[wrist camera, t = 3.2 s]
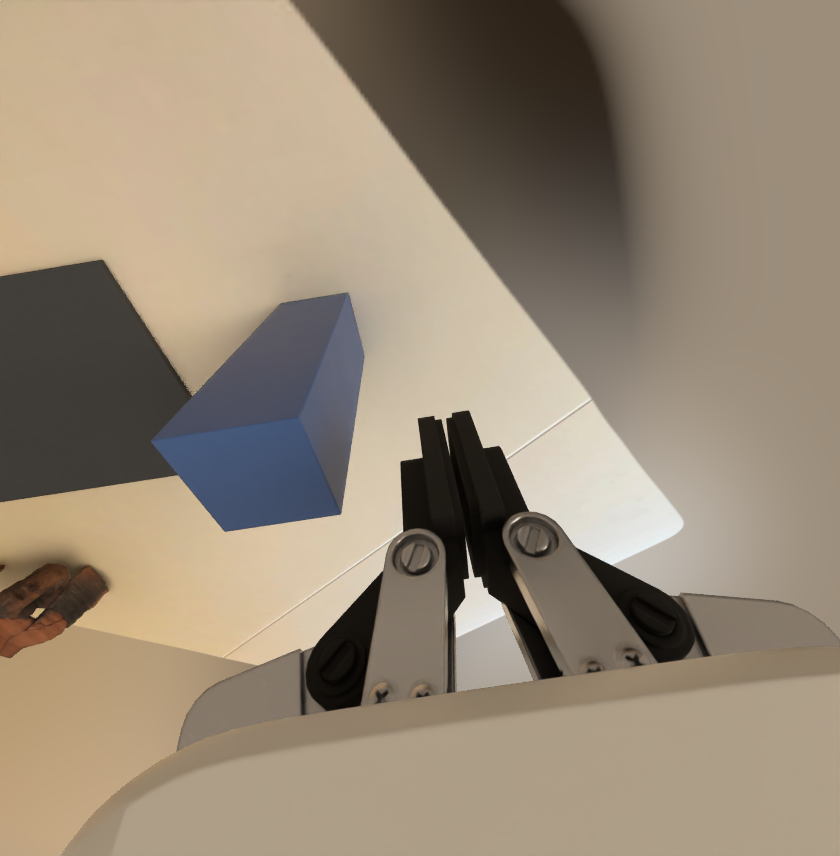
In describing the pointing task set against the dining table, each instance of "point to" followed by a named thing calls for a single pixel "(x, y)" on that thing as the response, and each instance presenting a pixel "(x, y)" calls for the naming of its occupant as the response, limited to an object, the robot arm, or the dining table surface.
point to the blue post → (274, 420)
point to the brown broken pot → (45, 605)
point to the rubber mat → (78, 385)
